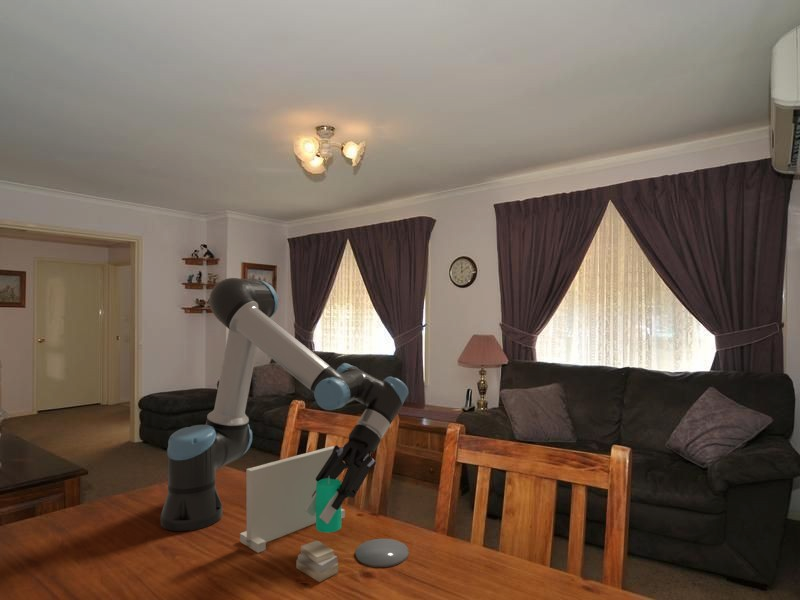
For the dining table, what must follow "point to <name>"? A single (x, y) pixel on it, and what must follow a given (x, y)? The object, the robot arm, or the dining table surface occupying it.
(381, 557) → the coaster
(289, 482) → the standing panel with feet
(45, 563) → the dining table surface
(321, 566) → the offcut stack
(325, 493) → the candle
